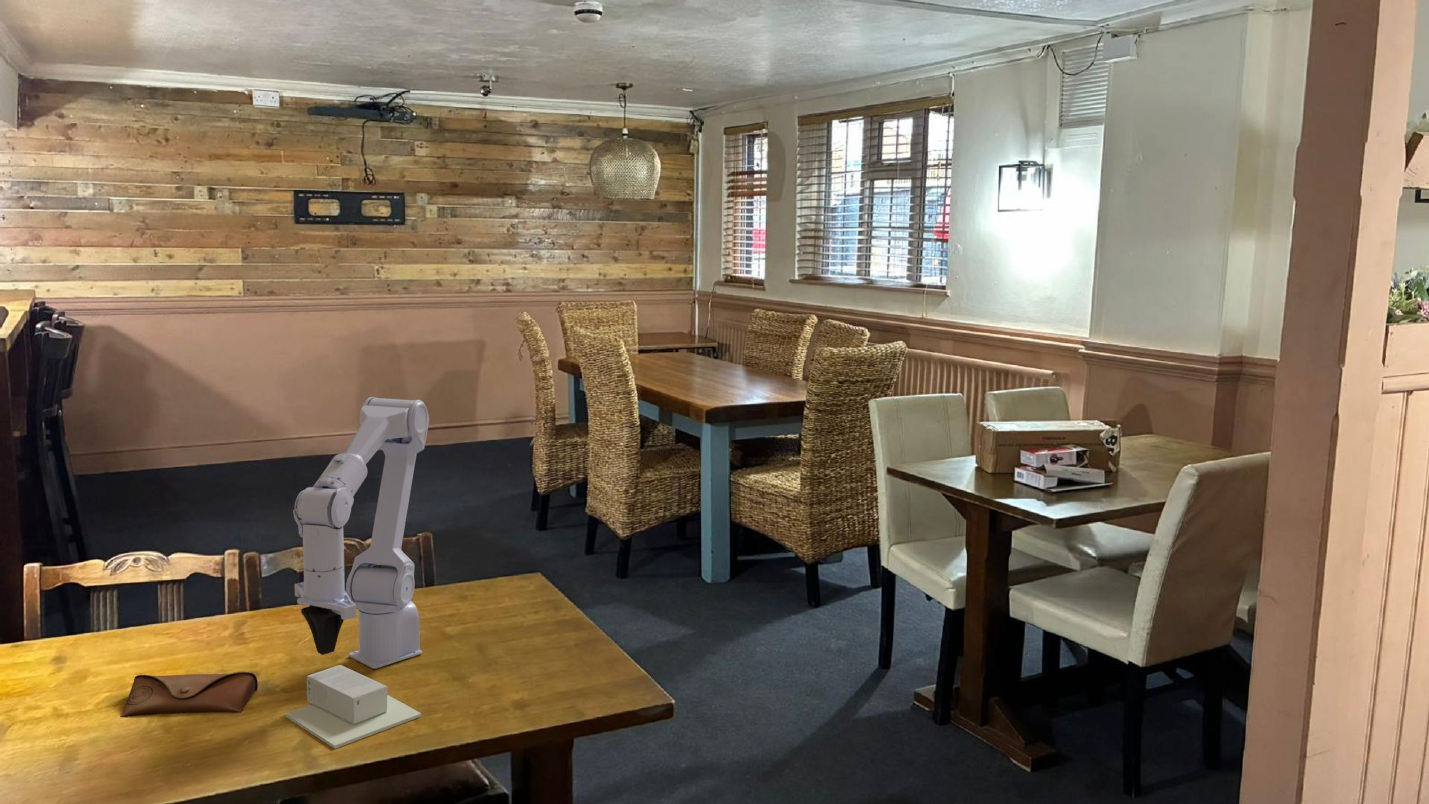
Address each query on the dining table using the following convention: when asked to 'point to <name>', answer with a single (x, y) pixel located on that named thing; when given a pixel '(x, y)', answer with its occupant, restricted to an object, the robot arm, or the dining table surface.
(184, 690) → the sunglasses case
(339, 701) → the skincare box
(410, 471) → the robot arm
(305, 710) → the mat
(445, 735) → the dining table surface
